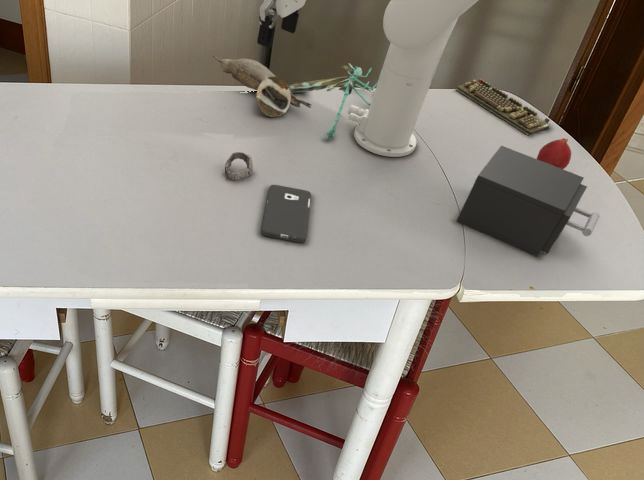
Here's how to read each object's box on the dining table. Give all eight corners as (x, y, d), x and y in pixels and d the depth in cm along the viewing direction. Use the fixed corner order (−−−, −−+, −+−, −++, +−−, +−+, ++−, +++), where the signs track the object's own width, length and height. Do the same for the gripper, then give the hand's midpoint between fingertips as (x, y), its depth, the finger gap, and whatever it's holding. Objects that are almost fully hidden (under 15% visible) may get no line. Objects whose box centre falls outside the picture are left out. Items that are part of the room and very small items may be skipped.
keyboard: (454, 89, 159) (457, 80, 157) (480, 82, 162) (484, 73, 161) (527, 136, 147) (531, 127, 145) (554, 127, 150) (559, 118, 149)
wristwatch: (234, 159, 131) (258, 167, 129) (220, 180, 128) (244, 188, 127) (235, 144, 128) (259, 152, 127) (220, 165, 125) (245, 173, 124)
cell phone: (306, 239, 115) (305, 244, 116) (312, 190, 125) (310, 195, 126) (261, 230, 116) (260, 235, 116) (270, 182, 125) (269, 187, 126)
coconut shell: (290, 117, 145) (273, 113, 150) (295, 78, 141) (278, 75, 147) (258, 117, 141) (242, 113, 146) (262, 76, 138) (246, 74, 143)
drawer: (588, 232, 123) (612, 196, 117) (571, 264, 117) (596, 227, 111) (492, 192, 129) (511, 156, 123) (471, 221, 123) (490, 184, 117)
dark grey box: (556, 222, 126) (584, 177, 119) (537, 257, 119) (565, 210, 112) (479, 190, 131) (501, 145, 124) (456, 221, 124) (478, 175, 117)
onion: (528, 175, 136) (547, 139, 130) (532, 162, 140) (551, 126, 134) (558, 185, 135) (579, 149, 129) (561, 171, 138) (582, 135, 132)
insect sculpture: (265, 140, 143) (296, 72, 162) (360, 155, 139) (381, 83, 157) (267, 114, 139) (299, 47, 157) (365, 128, 134) (386, 57, 152)
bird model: (224, 41, 156) (221, 64, 159) (206, 46, 152) (203, 69, 156) (324, 85, 142) (319, 109, 145) (307, 92, 139) (301, 115, 142)
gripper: (289, -36, 122) (270, 58, 135) (333, -58, 133) (311, 31, 145) (254, -49, 125) (238, 45, 138) (299, -69, 135) (281, 19, 148)
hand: (276, 38), depth 142 cm, fingers open, 9 cm apart
